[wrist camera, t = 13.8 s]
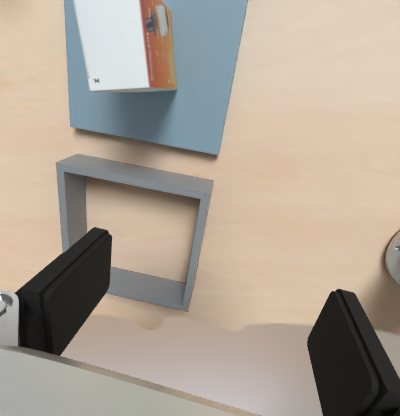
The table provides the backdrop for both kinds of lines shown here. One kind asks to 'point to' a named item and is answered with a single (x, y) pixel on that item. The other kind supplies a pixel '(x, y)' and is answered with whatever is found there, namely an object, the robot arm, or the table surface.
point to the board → (185, 77)
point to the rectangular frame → (142, 177)
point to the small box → (127, 45)
